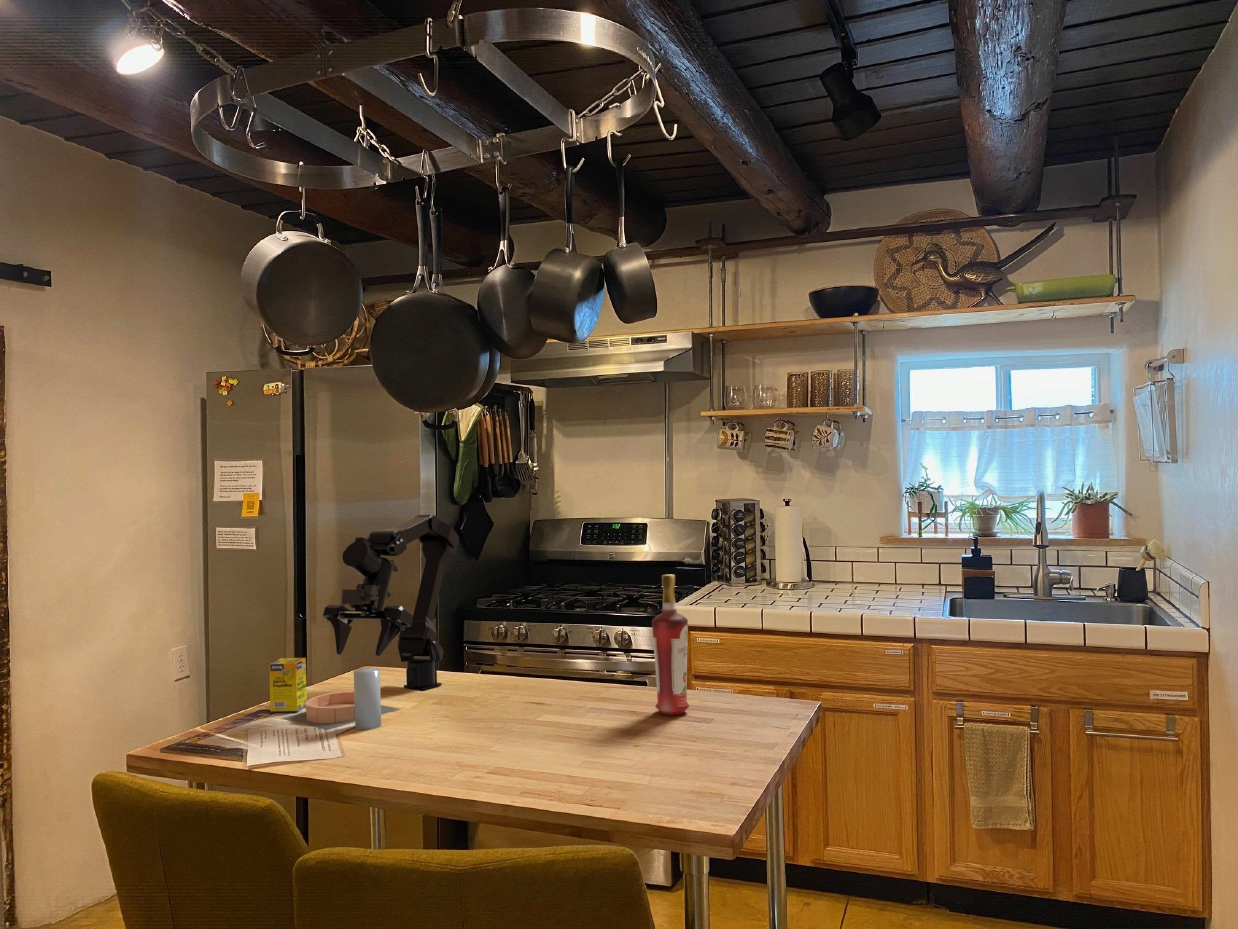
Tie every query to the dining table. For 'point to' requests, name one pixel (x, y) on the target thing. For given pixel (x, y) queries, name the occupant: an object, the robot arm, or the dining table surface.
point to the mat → (302, 719)
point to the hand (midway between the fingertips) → (357, 655)
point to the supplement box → (287, 685)
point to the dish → (331, 707)
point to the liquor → (670, 653)
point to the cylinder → (367, 698)
